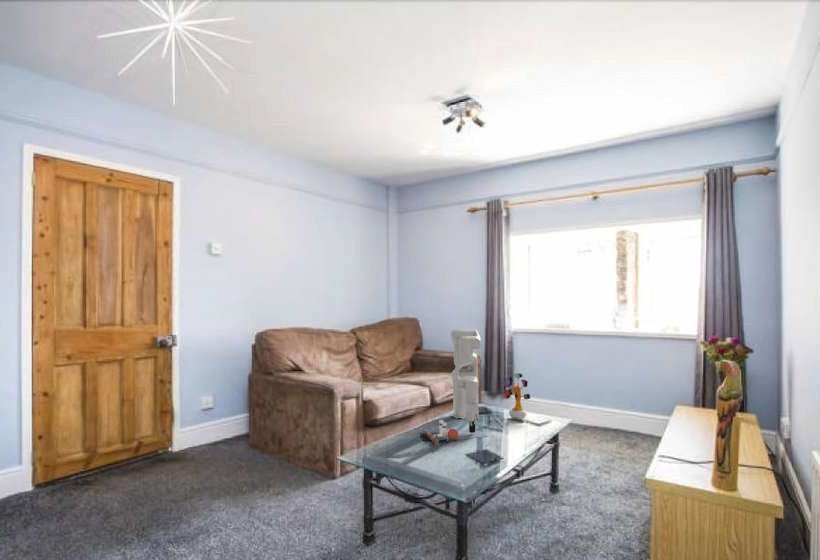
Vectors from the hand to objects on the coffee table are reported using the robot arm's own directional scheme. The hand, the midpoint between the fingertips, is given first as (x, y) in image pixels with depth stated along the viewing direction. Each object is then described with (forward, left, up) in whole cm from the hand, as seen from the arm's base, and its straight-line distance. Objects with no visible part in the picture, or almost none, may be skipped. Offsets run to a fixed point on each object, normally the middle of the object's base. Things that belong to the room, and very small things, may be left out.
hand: (472, 432), depth 255 cm
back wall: (0, -25, -2) cm, 26 cm away
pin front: (0, -15, 0) cm, 15 cm away
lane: (0, -8, -2) cm, 8 cm away
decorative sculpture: (-20, +41, -2) cm, 46 cm away
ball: (+4, -14, +2) cm, 15 cm away
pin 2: (+2, -18, -2) cm, 19 cm away
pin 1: (-2, -18, -2) cm, 19 cm away
